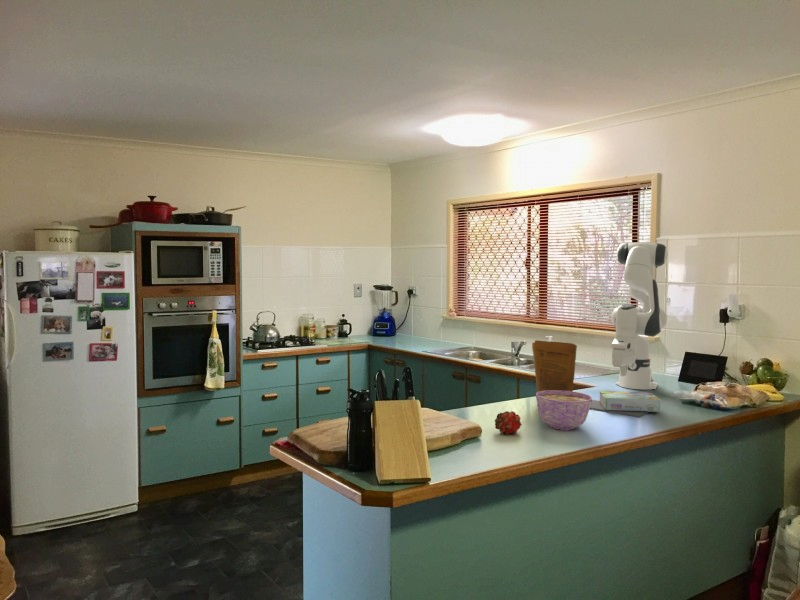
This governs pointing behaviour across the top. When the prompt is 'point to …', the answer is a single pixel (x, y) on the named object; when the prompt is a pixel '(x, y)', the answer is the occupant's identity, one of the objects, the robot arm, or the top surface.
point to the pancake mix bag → (554, 365)
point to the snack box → (629, 401)
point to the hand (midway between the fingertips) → (623, 375)
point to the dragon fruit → (508, 422)
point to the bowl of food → (563, 408)
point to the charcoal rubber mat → (597, 406)
